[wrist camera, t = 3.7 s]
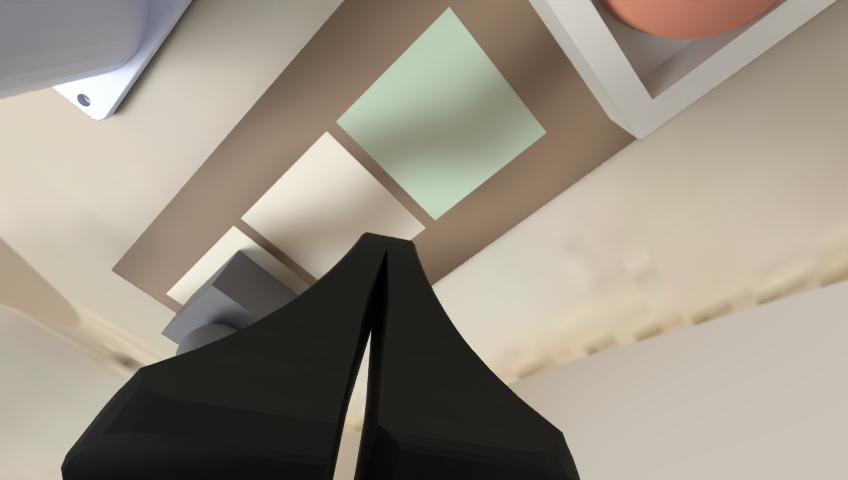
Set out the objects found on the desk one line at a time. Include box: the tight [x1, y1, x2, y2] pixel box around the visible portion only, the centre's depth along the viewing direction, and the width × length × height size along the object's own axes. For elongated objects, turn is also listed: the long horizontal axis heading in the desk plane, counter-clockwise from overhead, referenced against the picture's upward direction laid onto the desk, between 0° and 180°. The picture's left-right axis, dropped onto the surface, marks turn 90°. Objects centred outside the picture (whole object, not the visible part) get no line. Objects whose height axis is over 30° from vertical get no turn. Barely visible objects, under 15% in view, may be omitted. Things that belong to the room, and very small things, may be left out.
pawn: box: [161, 250, 298, 356], centre depth 21 cm, size 4×4×6 cm
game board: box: [112, 0, 637, 329], centre depth 19 cm, size 12×33×1 cm, turn 132°
